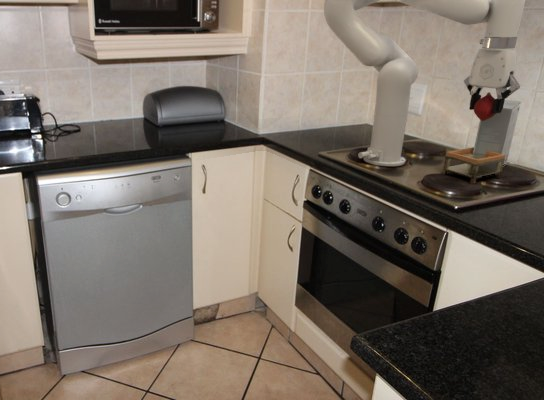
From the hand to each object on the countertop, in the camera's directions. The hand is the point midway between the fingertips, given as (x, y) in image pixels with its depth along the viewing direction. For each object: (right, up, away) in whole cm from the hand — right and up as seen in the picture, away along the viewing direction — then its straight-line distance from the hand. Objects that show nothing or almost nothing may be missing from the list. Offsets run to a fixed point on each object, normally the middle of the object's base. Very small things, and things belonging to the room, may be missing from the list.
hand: (484, 110), depth 135 cm
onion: (0, -3, +1) cm, 3 cm away
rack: (0, -18, +7) cm, 20 cm away
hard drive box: (+10, -15, +14) cm, 23 cm away
